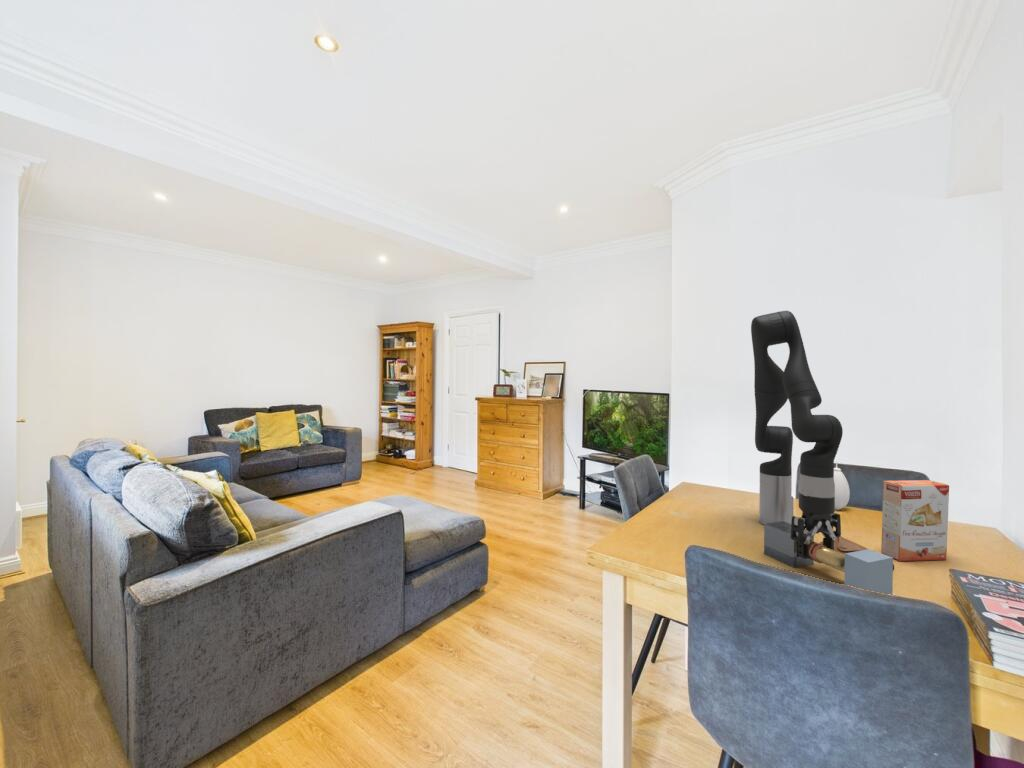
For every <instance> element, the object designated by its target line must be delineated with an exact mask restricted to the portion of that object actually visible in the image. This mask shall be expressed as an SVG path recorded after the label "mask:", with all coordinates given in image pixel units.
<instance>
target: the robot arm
mask: <svg viewBox="0 0 1024 768" xmlns="http://www.w3.org/2000/svg"><path fill="white" fill-rule="evenodd" d="M750 324H751V325H750V332H751V333H750V334H751V335H750V336H751V342H752V344H751V345H752V349H753V350H752V351H753V361H754V362H753V363H754V364H753V365H754V382H753V383H754V402H755V430H754V432H755V433H754V443H755V447H756V450H757V451H758V452H761V453H767V454H778V455H780V456H779V457H777V458H776V459H774V460H770V461H764V462H762V463H760V465H759V506H758V507H759V510H758V511H759V512H758V514H759V516H758V519H759V523H760V524H761V525H764V524H766V523H773V522H780V521H784V522H787V523H790V524H791V539H792V540H795V541H797V542H798V555H799V556H800V557H802V558H804V559H808V558H809V544H808V543H809V541H810V539H811V538H813V537H814V538H815V536H816V535H817V534H819V533H821V535H822V536H823V538H822V541H823V545H824V546H826V547H827V548H829V549H832V550H834V540H835V539H836V537H840V536H841V537H842V529H841V526H842V525H841V514H839V513H836V512H835V483H834V468H835V462H834V461H835V458H836V455H837V454H838V452H839V447H840V444H841V441H842V438H843V426H842V424H841V421H840V419H838V418H837V417H836V416H835V415H831V414H813V413H812V409H815V408H818V407H819V406H820V405H821V404H822V401H823V400H822V396H821V393H820V391H819V389H818V386H817V385H816V384H817V383H816V382H815V380H814V378H813V375H812V373H811V369H810V366H809V363H808V357H807V354H806V349H805V345H804V342H803V337H802V334H801V329H800V327H799V324H798V321H797V318H796V316H795V315H794V314H793V313H792V311H789V310H782V311H781V310H780V311H777V312H772V313H771V312H770V313H767V314H761V315H757V316H754V318H752V320H751V323H750ZM786 343H787V346H788V348H789V349H788V351H789V355H788V358H787V359H788V360H787V362H786V365H785V368H784V370H783V369H782V368H781V367H779V365H778V364H776V362H775V361H774V359H772V357H771V356H770V355H769V352H768V351H769V350H768V349H769V346H776V345H781V344H786ZM787 401H788V402H789V405H790V416H791V418H790V419H791V420H790V421H791V428H790V427H789V426H783V425H781V426H780V425H769V422H770V421H771V419H772V418H773V417H774V415H775V414H777V413H778V411H780V410H781V409H782V407H784V406H785V404H786V403H787ZM793 434H794V435H793ZM794 436H795V437H796V438H797V439H798V440H799V441H801V442H803V443H815V444H814V446H813V448H811V449H809V450H806V451H804V452H802V453H800V463H799V469H800V470H799V479H798V508H799V509H800V511H802V513H801V517H800V516H799V517H798V516H794V496H792V489H793V488H792V485H793V484H792V483H793V482H792V478H793V477H792V476H793V475H792V471H793V470H792V461H793V459H792V457H793V455H792V454H793V443H794ZM834 528H835V530H834ZM805 529H807V531H805ZM808 531H809V532H808ZM796 532H798V535H797V536H796ZM804 535H806V537H805V539H804V538H803V536H804Z"/></svg>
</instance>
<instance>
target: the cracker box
mask: <svg viewBox="0 0 1024 768" xmlns="http://www.w3.org/2000/svg"><path fill="white" fill-rule="evenodd" d="M882 484H883V485H882V517H881V518H882V519H881V546H880V547H881V552H880V553H881V554H884V555H887V556H890V557H893V560H894V559H895V560H896V561H899V562H910V561H912V562H913V561H914V562H915V561H918V562H920V561H946V560H947V554H948V553H947V551H948V550H947V549H948V528H949V527H948V524H949V502H950V498H949V497H950V485H948V484H946V483H944V482H938V481H935V480H934V481H933V480H929V479H921V480H920V479H917V480H915V479H914V480H913V479H912V480H911V479H910V480H907V479H906V480H900V479H899V480H883V482H882Z"/></svg>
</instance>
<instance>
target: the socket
mask: <svg viewBox="0 0 1024 768" xmlns="http://www.w3.org/2000/svg"><path fill="white" fill-rule="evenodd" d="M893 564H894V558H893V557H890V556H887V555H885V554H883V553H881V552H878V551H876V550H872V549H870V548H867V549H866V550H861V551H856V552H850V553H845V572H844V584H845V585H849V586H853V587H856V588H861V589H864V590H869V591H874V592H879V593H884V594H891V595H893V592H894V590H893V589H894V588H893V584H894V583H893V580H894V576H893V575H894V570H893Z"/></svg>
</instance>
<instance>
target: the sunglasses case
mask: <svg viewBox="0 0 1024 768" xmlns="http://www.w3.org/2000/svg"><path fill="white" fill-rule="evenodd" d="M818 543H819V544H822V545H823V540H822V541H820V542H818ZM866 549H868V548H867V547H865V546H863V545H861V544H858V543H857V542H854V541H852V540H850V539H848V538H845V537H843V536H842V535H841V536H840V537H836V539H835V540H834V551H837V552H840V553H842V554H845V553H850V552H856V551H861V550H866ZM893 571H895V565H894V563H893Z"/></svg>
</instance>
